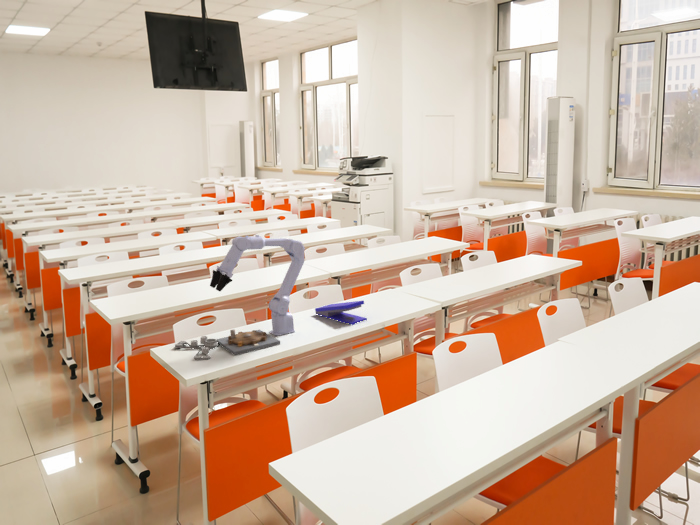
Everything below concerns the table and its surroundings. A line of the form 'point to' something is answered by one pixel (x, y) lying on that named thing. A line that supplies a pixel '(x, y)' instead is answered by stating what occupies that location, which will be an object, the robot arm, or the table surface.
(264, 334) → the brown flat round piece
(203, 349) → the pulley system
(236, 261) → the robot arm
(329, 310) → the stapler
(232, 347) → the board
